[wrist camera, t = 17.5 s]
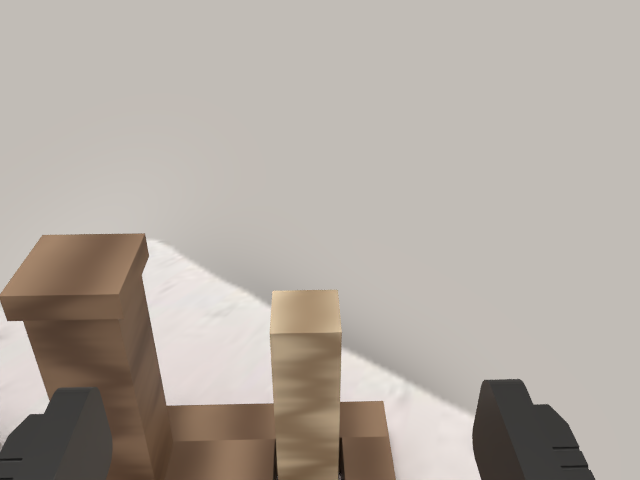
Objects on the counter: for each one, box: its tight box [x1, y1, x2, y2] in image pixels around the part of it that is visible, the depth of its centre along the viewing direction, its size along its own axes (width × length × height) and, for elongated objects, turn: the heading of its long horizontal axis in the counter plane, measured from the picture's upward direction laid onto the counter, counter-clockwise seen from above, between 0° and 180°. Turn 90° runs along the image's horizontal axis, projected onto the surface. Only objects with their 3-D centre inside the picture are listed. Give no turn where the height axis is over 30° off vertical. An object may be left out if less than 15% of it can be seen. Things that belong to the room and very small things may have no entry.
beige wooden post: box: [270, 290, 342, 480], centre depth 39 cm, size 4×4×18 cm
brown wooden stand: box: [0, 234, 396, 480], centre depth 38 cm, size 22×12×22 cm, turn 92°
